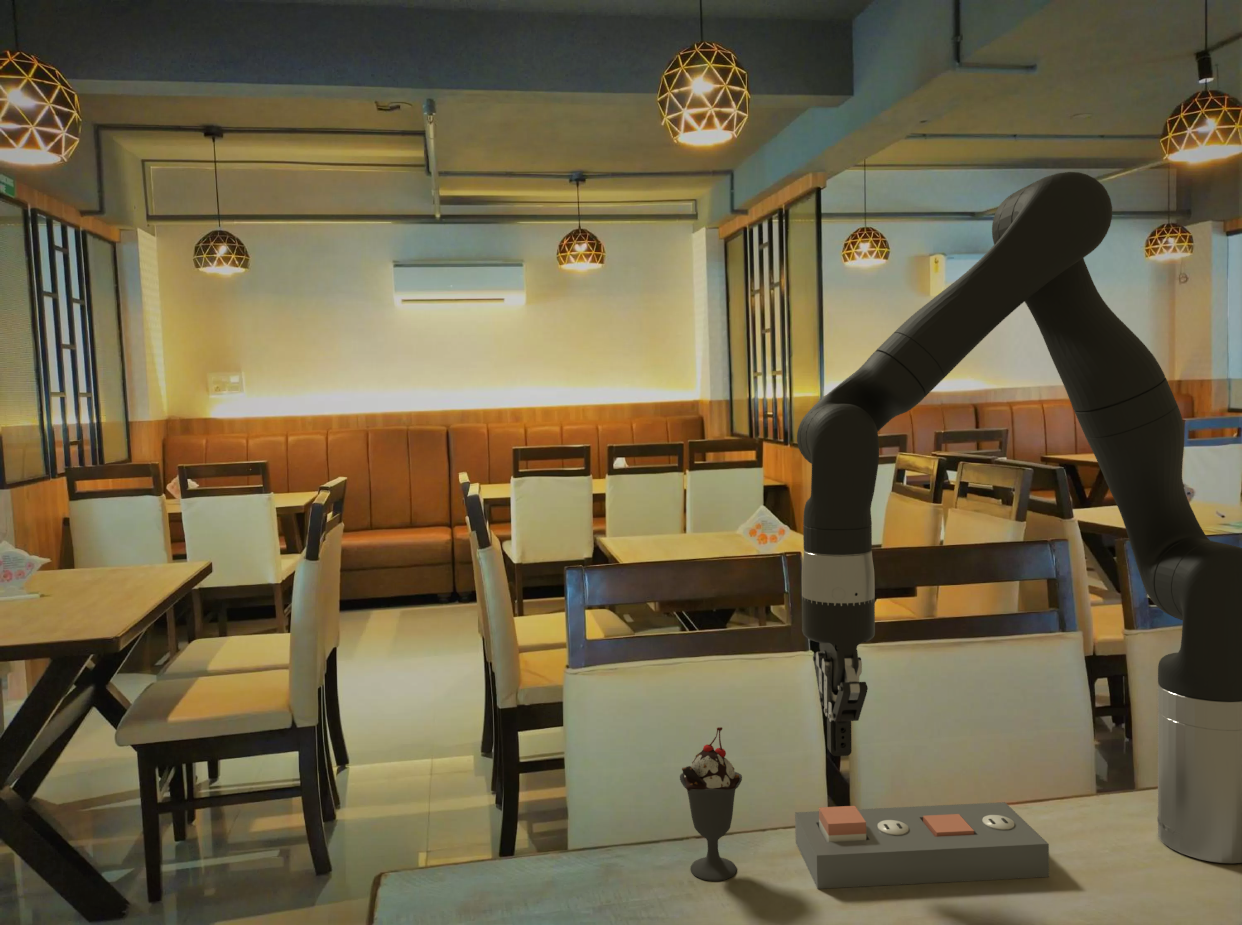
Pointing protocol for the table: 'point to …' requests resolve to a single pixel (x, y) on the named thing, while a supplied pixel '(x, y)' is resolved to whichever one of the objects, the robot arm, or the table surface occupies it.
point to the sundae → (711, 807)
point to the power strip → (924, 848)
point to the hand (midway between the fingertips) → (839, 752)
